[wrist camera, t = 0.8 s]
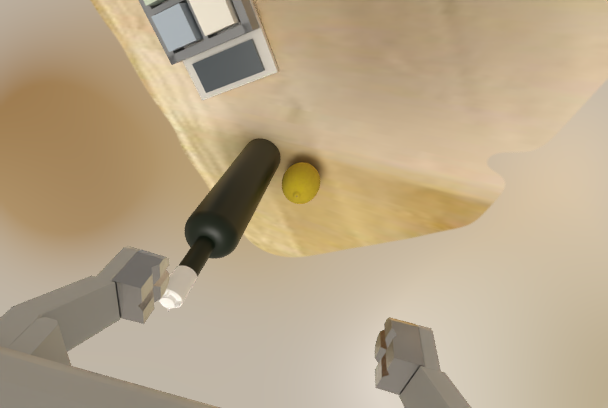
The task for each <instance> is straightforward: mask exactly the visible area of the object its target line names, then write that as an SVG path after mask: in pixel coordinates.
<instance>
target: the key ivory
mask: <svg viewBox="0 0 608 408" xmlns="http://www.w3.org/2000/svg"><path fill="white" fill-rule="evenodd" d="M189 2H190V4H191V6H192V9H193V11H194V13H195V15H196V17H197V20H198V22H199V24H200V26H201V29H202V31H203V33H204V35H205V36H207V35H211V34H214V33H216V32H218V31H221V30H223V29H225V28H228V27H230V26H232V25H234V24H237V23H239V22H240V19H239V17H238V14H237V12H236V9H235V7H234V4H233V2H232V0H189Z"/></svg>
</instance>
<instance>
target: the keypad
mask: <svg viewBox="0 0 608 408" xmlns="http://www.w3.org/2000/svg"><path fill="white" fill-rule="evenodd" d="M139 2H140V4H141V6H142V8H143V10H144V12H145V14H146V16H147V17H148V19H149V21H150V23H151V25H152V27H153V29H154V31H155V33H156V35H157V37H158V39H159V41H160V43H161V45H162V47H163V49H164V51H165V53H166V54H167V56H168V58H169V60H170V62H171V64H172V65H173V64H175V63H178V62H181V61H183V63H184V65H185V67H186V69H187V71H188V73H189V75H190V77H191V79H192V81H193V83H194V85H195V87H196V89H197V91H198V93H199V95H200V97H201V99H202V100H205V99H208V98H210V97H213V96H216V95H218V94H221V93H224V92H226V91H229V90H232V89H234V88H237V87H240V86H242V85H245V84H247V83H250V82H253V81H255V80H258V79H261V78H263V77H266V76H269V75H271V74H274V73H277V72H278V71H279V69H278V66H277V63H276V61H275V58H274V55H273V53H272V50H271V47H270V45H269V42H268V39H267V37H266V34H265V31H264V29H263V26H262V24H261V21H260V18H259V16H258V13H257V10H256V8H255V5H254V2H253V0H232V2H233V4H234V7H235V9H236V12H237V14H238V17H239V19H240V22H239V23H237V24H234V25H232V26H230V27H228V28H225V29H223V30H221V31H218V32H216V33H214V34H211V35H207V36H205V35H204V33H203V31H202V29H201V26H200V24H199V22H198V20H197V17H196V15H195V13H194V11H193V9H192V6H191V4H190V2H189V0H166V1H164V2H162V3H160V4H158V5H153V6H146V5H145V3H144V1H143V0H139ZM178 3H188V5H189V8H190V10H191V12H192V14H193V16H194V19H195V21H196V23H197V25H198V27H199V29H200V32H201V34H202V36H203V39H200V40H198V41H196V42H194V43H191V44H189V45H187V46H185V47H182V48H180V49H178V50H175V51H171V52H169V51H168V49H167V47H166V45H165V43H164V41H163V39H162V37H161V35H160V33H159V31H158V29H157V27H156V25H155V24H154V22H153V20H152V18H151V17H152V16H154V15H156V14H158V13H160V12H162V11H164V10H166V9H168V8H170V7H172V6H174V5H176V4H178Z"/></svg>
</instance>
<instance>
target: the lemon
mask: <svg viewBox="0 0 608 408" xmlns="http://www.w3.org/2000/svg"><path fill="white" fill-rule="evenodd" d="M319 187H320V176H319V174H318V172H317V170H316V169H315V168H314V167H313V166H312V165H310V164H308V163H303V162H300V163H296V164H294V165H292V166H290V167H289V168H288V169H287V170H286V172H285V174H284V176H283V179H282V190H283V193H284V195H285V196H286V198H287V199H288V200H290V201H291V202H293V203H297V204H304V203H307V202H309V201H310V200H312V199H313V198H314V197H315V195H316V194H317V192H318V190H319Z"/></svg>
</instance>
